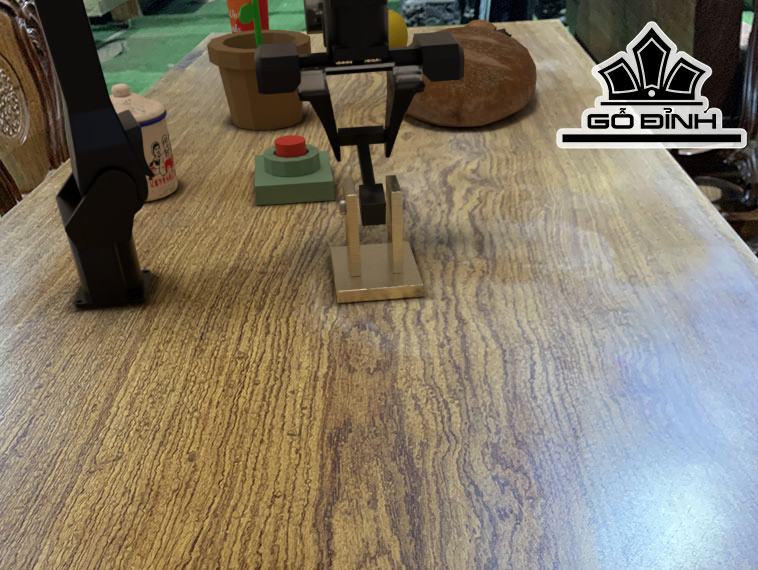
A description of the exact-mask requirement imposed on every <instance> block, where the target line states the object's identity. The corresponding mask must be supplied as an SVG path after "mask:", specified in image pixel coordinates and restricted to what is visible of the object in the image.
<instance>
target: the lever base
mask: <svg viewBox="0 0 758 570" xmlns="http://www.w3.org/2000/svg"><path fill="white" fill-rule="evenodd" d="M341 181H342V182H341V183H342V198H339V199H338V207H339V215H340V216H343V217H344V229H345V230H344V232H345V246H344V245H343V246H329V254H330V263H331V269H332V276H333V283H334V287H335V296H336V301H337V304H347V303H359V302H370V301H371V302H372V301H383V300H396V299H397V300H399V299H410V298H423V297H424V283H423V280H422V275H421V274H420V270H419V267H418V265H417V261H416V259H415V256H414V253H413V251H412V247H411V244H410V241H404V228H403V227H404V223H403V221H404V219H403V211H406V208H407V201H406V195H405V194H404V193H403V191H402V187H401V185H400V182H399V180H398V176H397V174H389V175H385V200H386V242H384V243H370V244H369V243H368V244H361V243H360V226H359V225H360V224H359V202H358V194H357V189H356V185H355V180H354V178H353V177H348V178H347V177H345V178H342V179H341Z"/></svg>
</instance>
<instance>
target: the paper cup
mask: <svg viewBox="0 0 758 570" xmlns="http://www.w3.org/2000/svg"><path fill="white" fill-rule="evenodd" d="M225 1H226V6H227V12H228V19H229V23H230V28H231V33H237V32H244V31H251V30H254V21H253V20H252V21H251V22H250V23H246V24H243V23H241V22H240V20H239V12H240V8H241V7H242V6H244V5H245V4H252V3H251V0H225ZM258 4H259V14H260V23H261V30H270V18H269V17H270V15H269V0H258Z"/></svg>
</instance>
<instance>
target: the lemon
mask: <svg viewBox="0 0 758 570" xmlns="http://www.w3.org/2000/svg"><path fill="white" fill-rule="evenodd" d="M388 17H389V47H403V46H408V42H409V33H408V27H407V23H406V20H405V19H404V18H403V16H402V15H401V14H400V13H398V12H396V11H394V9H388Z"/></svg>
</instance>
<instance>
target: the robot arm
mask: <svg viewBox="0 0 758 570" xmlns="http://www.w3.org/2000/svg"><path fill="white" fill-rule="evenodd" d="M302 1H303V11H304V12H303V13H304V23H305V34H306V35H308V36H310V35H321V34H322V43H323V47H324V48H325V51H321V52H311V53H306V54H298V50H297V45H296V42H290V43H276V44H262V45H259V46H258V48H257V49H256V51H255V52H254V54H255V69H256V77H257V85H258V93H260V94H264V95H266V94H280V93H293V92H294V91H295V90H297V96H298V100H299V101H302V102H303V103H304V102H307V103H309V104H310V106H311V107H312V109H313V111H314V112H315V114H316V117H317V118H318V119H319V121H320V123H321V126H322V127H323V130H324V132H325V135H326V137H327V140H328V142H329V145H330V147H331V149H332V152H333V155H334V158H335V160H336V162H337V163H341V162H342V151H341V146H340V143H339V138H338V127H337V123H336V117H335V112H334V107H333V102H332V98H331V97H332V96H331V92H330V89H329V85H328V81H327V77H328V76H341V75H354V74H355V75H356V74H366V73H369V74H370V73H380V72H386V99H385V113H384V114H385V115H384V131H385V140H384V144H383V151H384V153H383V154H384V157H385V159H389V158H391V155H392V152H393V149H394V146H395V144H396V140H397V137H398V134H399V132H400V129H401V126H402V123H403V120H404V118H405V116H406V115H407V114H406V112H407V110H408V108H409V106H410V104H411V102H412V100H413V98H414V96H415V94H416V93H422V92H424V91H425V89H426V85H425V83H424V81H423V79H422V74H424V75H425V76H426V77H427V78H428V79H429V80H430V81H431V82H438V81H451V80H460V79H462V78H464V61H465V58H464V49H463V48H462V47H461V45H460V44H459V42H458V41H457V40H456V38H455V37H454V36H453V35H452V34H451V33H450V32H449V31H444V32H436V31H432V32H418V33H413V35H412V41H411V43H412V46H408V45H407V46H403V47H389V17H388V11H389V0H302ZM32 3H33V5H34V9H35V12H36V15H37V18H38V22H39V25H40V28H41V32H42V35H43V38H44V41H45V44H46V48H47V50H48V54H49V57H50V61H51V63H52V67H53V70H54V74H55V76H56V79H57V84H58V87H59V89H60V93H61V96H62V102H63V103H62V104H63V112H64V122H65V132H66V138H67V139H66V140H67V146H68V154H69V161H70V167H71V172H70V174H69V175H68V177H67V178H66V179H65V181H64V183H63V184H62V186H61V187H60V189H59V191H58V192H57V193H56V195H55V202H56V205H57V209H58V212H59V215H60V219H61V222H62V225H63V229H64V232H65V233H66V237H67V241H68V244H69V248H70V252H71V255H72V258H73V262H74V265H75V269H76V272H77V276H78V279H79V282H80V286H79V288H78V291H77V293H76V296H75V299H74V300H73V301H74V302H73V304H74V307H75V308H76V309H87V308H102V307H114V306H125V305H126V306H128V305H140V304H144V303H146V301H147V298H148V293H149V290H150V286H151V285H150V284H151V280H152V276H153V274H152V271H151V269H142V268H141V263H140V259H139V255H138V251H137V247H136V242H135V237H134V234H133V229H134V223H135V222H134V221H135V215H136V214H137V213H138V212H140V211H142V209H143V206H144V205H145V203H147V201H146V200H147V199H148V193H149V190H148V181H147V178H146V176H149V177H154V173H153V172H152V170H151V168H150V167H149V165H148V163H147V162H146V159H145V155H144V147H143V136H142V130H141V127H140V125H139V124H138V122H137V121H136V119H135V117H134V116H133V114H132V113H131V111H130V110H129V109H128V110H125V111H123V112H120V113H118V114H117V112H116V110H115V108H114V106H113V104H112V102H111V99H110V93H109V90H108V86H107V82H106V79H105V78H106V77H105V75H104V71H103V67H102V64H101V60H100V56H99V52H98V50H97V45H96V42H95V38H94V35H93V30H92V27H91V24H90V21H89V20H90V19H89V16H88V12H87V8H86V5H85V2H84V0H32ZM368 60H369V61H368ZM372 60H374V61H372ZM343 62H344V63H343ZM347 62H348V63H347Z"/></svg>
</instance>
